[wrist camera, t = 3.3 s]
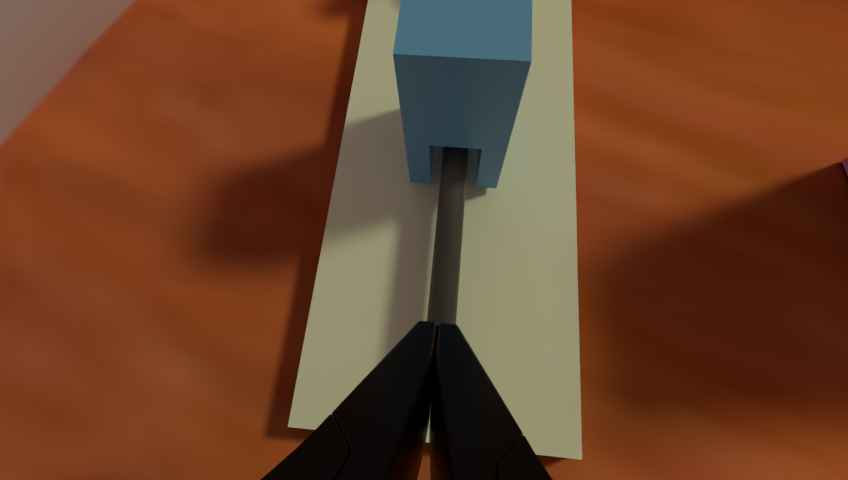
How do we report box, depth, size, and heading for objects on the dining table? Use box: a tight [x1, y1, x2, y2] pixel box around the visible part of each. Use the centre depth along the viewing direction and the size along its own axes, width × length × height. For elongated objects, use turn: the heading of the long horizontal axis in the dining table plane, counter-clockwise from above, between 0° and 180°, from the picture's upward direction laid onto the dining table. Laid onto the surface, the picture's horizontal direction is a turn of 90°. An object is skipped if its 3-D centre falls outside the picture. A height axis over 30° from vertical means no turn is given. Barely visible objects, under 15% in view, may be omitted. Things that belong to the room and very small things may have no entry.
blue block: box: [393, 0, 532, 188], centre depth 18 cm, size 5×4×8 cm
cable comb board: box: [288, 0, 582, 460], centre depth 21 cm, size 30×12×6 cm, turn 174°
